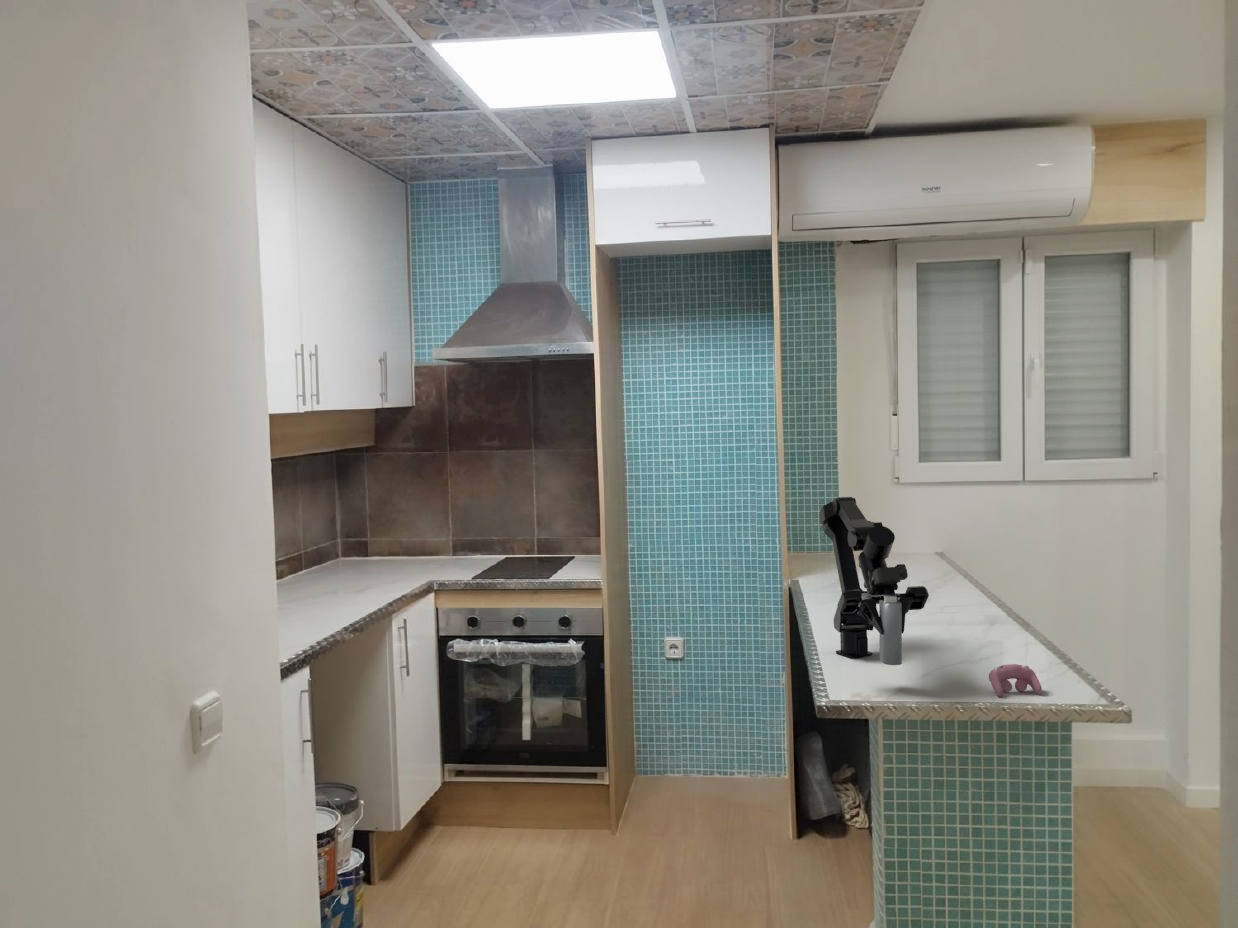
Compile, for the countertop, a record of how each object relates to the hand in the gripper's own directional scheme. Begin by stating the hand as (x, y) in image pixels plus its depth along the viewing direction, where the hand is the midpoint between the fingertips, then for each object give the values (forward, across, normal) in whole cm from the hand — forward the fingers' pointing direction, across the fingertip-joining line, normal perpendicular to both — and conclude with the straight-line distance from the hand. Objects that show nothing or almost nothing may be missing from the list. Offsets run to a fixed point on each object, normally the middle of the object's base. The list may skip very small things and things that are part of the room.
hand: (892, 632), depth 217 cm
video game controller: (+14, +24, +4) cm, 28 cm away
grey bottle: (+4, 0, +6) cm, 7 cm away
